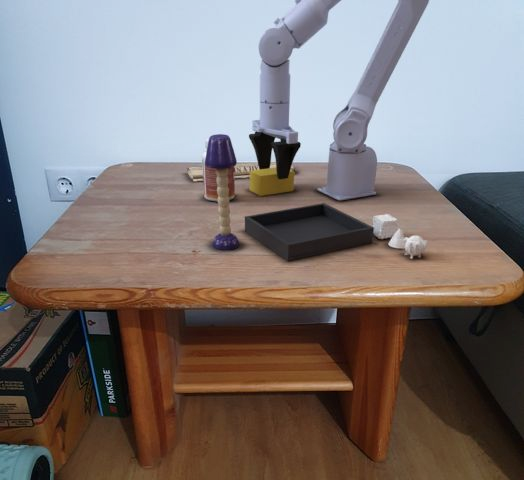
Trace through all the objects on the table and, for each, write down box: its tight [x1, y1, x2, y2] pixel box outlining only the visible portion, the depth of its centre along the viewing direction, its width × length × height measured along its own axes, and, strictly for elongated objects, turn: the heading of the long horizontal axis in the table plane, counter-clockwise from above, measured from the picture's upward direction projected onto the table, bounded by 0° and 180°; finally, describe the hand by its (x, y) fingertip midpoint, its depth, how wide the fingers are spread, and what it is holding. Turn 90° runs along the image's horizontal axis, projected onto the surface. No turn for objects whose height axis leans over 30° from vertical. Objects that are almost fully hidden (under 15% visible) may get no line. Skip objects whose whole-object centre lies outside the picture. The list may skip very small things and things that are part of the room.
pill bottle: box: [201, 137, 236, 203], centre depth 103 cm, size 6×6×11 cm
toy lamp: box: [205, 133, 240, 251], centre depth 81 cm, size 5×5×17 cm
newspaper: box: [186, 161, 296, 182], centre depth 121 cm, size 24×7×2 cm, turn 108°
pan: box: [244, 202, 374, 262], centre depth 88 cm, size 16×14×3 cm
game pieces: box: [371, 213, 428, 259], centre depth 85 cm, size 12×3×3 cm, turn 21°
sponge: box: [249, 167, 295, 197], centre depth 109 cm, size 8×4×4 cm, turn 119°
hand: (273, 173), depth 109 cm, fingers open, 7 cm apart
